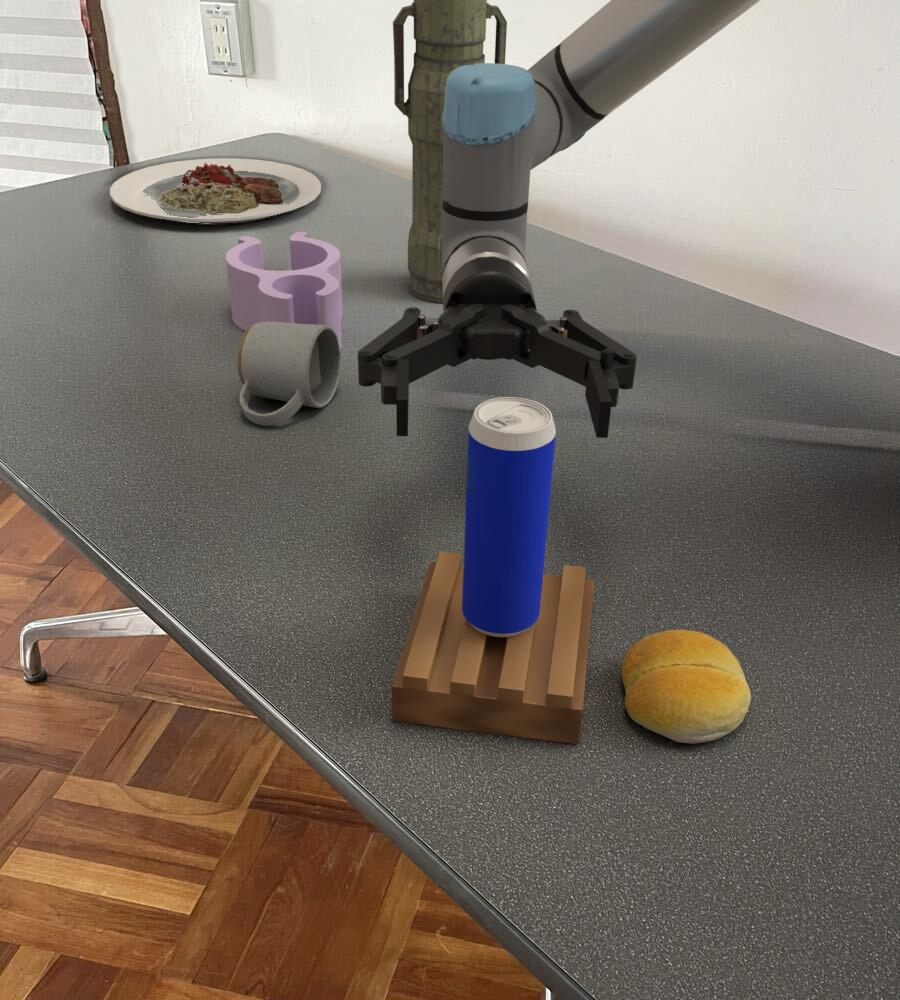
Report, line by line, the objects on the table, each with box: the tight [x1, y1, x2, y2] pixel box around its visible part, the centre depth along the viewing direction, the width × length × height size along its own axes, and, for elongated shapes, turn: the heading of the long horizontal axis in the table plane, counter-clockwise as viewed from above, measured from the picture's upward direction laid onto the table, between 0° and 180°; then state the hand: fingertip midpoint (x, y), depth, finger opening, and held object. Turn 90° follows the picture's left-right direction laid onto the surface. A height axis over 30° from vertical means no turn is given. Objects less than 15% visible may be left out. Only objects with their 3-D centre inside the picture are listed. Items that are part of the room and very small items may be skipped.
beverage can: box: [462, 396, 557, 637], centre depth 67 cm, size 5×5×15 cm
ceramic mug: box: [236, 321, 342, 427], centre depth 102 cm, size 11×8×8 cm
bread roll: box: [620, 629, 752, 745], centre depth 70 cm, size 8×9×4 cm
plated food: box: [109, 157, 322, 224], centre depth 155 cm, size 30×30×3 cm
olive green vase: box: [392, 0, 508, 304], centre depth 119 cm, size 9×12×35 cm
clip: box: [225, 231, 344, 352], centre depth 118 cm, size 20×12×7 cm, turn 17°
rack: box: [391, 550, 595, 745], centre depth 73 cm, size 12×14×4 cm
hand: (503, 419), depth 72 cm, fingers open, 13 cm apart
